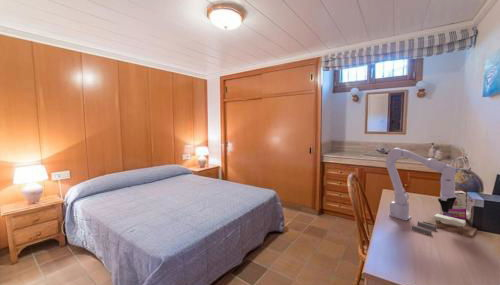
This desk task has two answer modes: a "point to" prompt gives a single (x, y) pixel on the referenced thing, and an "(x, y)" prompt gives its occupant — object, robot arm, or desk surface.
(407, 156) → the robot arm
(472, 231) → the peg stand
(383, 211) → the desk surface
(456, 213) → the candy bar box
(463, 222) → the shelf board
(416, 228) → the battens
